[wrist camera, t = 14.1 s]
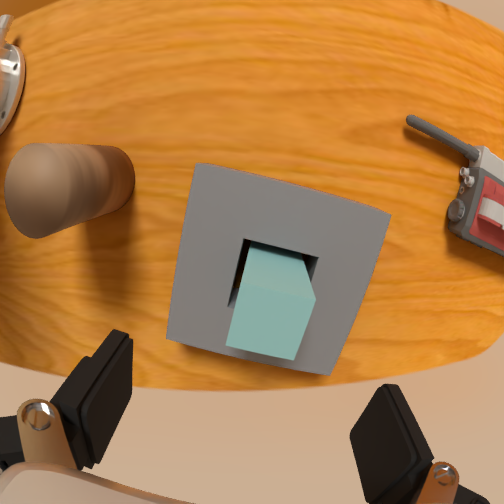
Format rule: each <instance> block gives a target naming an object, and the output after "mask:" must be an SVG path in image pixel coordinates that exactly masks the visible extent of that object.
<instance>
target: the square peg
mask: <svg viewBox="0 0 504 504" xmlns="http://www.w3.org/2000/svg"><path fill="white" fill-rule="evenodd" d="M315 301H316V298H315V295H314V292H313V289H312V285H311V282H310V279H309V276H308V273H307V270H306V267H305V264H304V261H303V258H302V255H301V252H297V251H293V250H289V249H285V248H281V247H277V246H273V245H269V244H265V243H261V242H257V241H252V240H251V244H250V248H249V252H248V256H247V260H246V264H245V268H244V272H243V276H242V280H241V284H240V288H239V292H238V296H237V300H236V304H235V308H234V313H233V317H232V321H231V325H230V329H229V333H228V337H227V341H226V346H230V347H234V348H238V349H243V350H247V351H251V352H256V353H260V354H265V355H269V356H274V357H279V358H284V359H289V360H294V359H295V356H296V353H297V351H298V348H299V345H300V343H301V340H302V337H303V335H304V332H305V329H306V327H307V324H308V321H309V318H310V316H311V313H312V310H313V307H314V304H315Z"/></svg>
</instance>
